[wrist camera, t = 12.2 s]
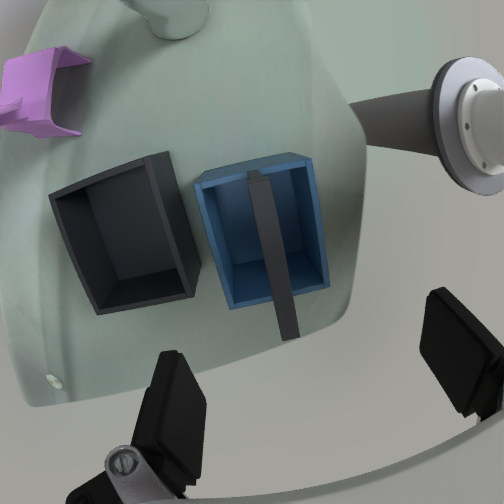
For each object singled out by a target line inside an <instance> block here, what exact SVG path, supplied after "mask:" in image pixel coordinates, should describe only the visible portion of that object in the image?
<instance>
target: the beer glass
mask: <svg viewBox="0 0 504 504" xmlns="http://www.w3.org/2000/svg"><path fill="white" fill-rule="evenodd" d="M118 1H119V2H121V3H122V4H124V5H125V6H127V7H128V8H130V9H132V10H134V11H136V12H138V13H139V14H141V15H143V16H145V17H146V18H147V22H148V25H149V27H150V29H151V31H152V32H153V33H154V34H155V35H157V36H158V37H160V38H163V39H167V40H179V39H183V38H187V37H189V36H191V35H193V34H195V33H196V32H198V31H199V30H200V29H201V28H202V27H203V26H204V25H205V23H206V21H207V19H208V16H209V6H208V3H207V2H206V0H118Z"/></svg>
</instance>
